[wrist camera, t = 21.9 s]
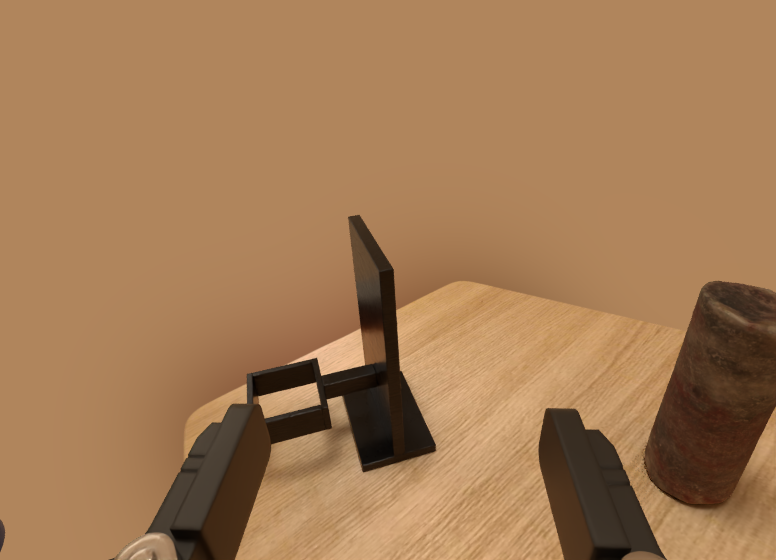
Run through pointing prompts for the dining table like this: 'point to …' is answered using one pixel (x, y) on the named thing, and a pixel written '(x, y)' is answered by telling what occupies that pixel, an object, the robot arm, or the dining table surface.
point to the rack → (358, 374)
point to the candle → (716, 395)
